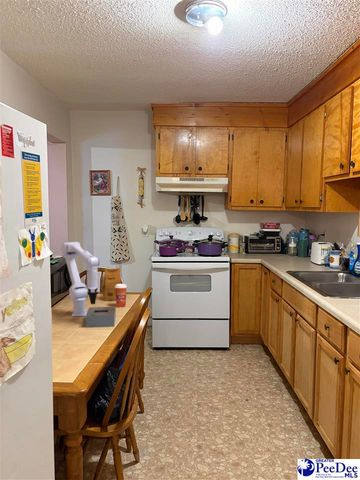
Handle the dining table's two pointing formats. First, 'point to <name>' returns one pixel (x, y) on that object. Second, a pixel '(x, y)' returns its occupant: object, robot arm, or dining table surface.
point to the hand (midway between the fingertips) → (92, 302)
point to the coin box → (100, 317)
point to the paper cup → (121, 295)
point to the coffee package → (111, 283)
